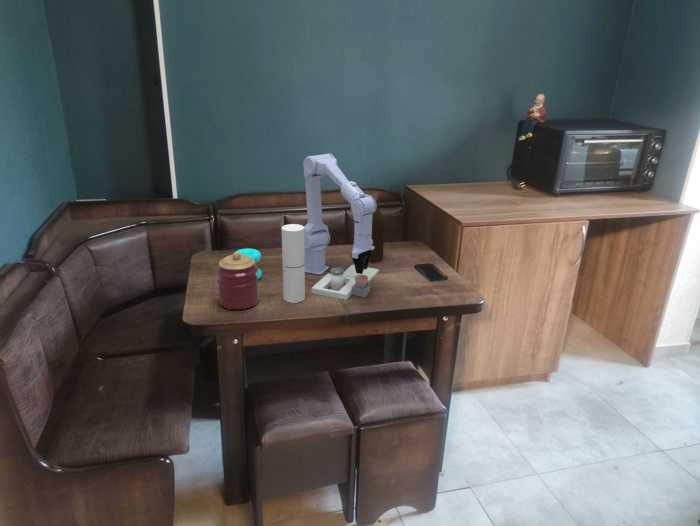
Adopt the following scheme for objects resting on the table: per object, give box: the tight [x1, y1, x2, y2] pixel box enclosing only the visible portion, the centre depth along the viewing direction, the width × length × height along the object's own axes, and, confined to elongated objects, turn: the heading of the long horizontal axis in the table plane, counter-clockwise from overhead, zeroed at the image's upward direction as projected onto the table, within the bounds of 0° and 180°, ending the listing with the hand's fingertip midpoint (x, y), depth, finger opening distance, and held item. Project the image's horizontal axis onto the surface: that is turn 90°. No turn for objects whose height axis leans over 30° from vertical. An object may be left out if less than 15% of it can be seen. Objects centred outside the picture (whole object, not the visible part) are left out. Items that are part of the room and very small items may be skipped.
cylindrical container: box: [281, 223, 306, 304], centre depth 173 cm, size 7×7×25 cm
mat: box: [344, 264, 380, 284], centre depth 197 cm, size 11×11×1 cm
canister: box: [216, 251, 260, 310], centre depth 171 cm, size 13×13×18 cm
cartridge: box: [329, 266, 345, 291], centre depth 184 cm, size 5×5×7 cm
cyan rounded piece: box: [235, 248, 263, 280], centre depth 191 cm, size 10×10×10 cm
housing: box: [310, 272, 371, 301], centre depth 184 cm, size 18×14×3 cm
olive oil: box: [369, 196, 387, 264], centre depth 208 cm, size 11×11×25 cm
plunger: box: [355, 275, 368, 288], centre depth 181 cm, size 4×4×4 cm
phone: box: [413, 262, 449, 283], centre depth 201 cm, size 8×1×15 cm
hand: (361, 271), depth 179 cm, fingers open, 4 cm apart
